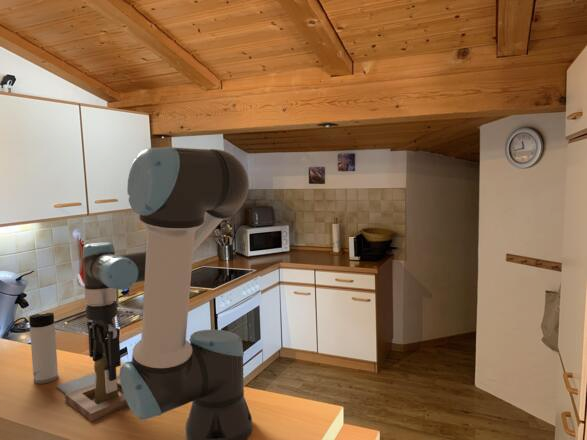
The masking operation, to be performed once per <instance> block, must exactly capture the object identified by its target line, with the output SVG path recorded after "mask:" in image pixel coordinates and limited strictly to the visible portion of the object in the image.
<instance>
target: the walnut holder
mask: <svg viewBox="0 0 587 440" xmlns="http://www.w3.org/2000/svg"><path fill="white" fill-rule="evenodd" d="M116 376H117V389H118V392H121V393H122V394H121V395H119V396H118V397H115V398H113V399H110V400H108V401H105V402H103V403H100V404H98V405H97V404H96V403H95V401H93V400H92V399H91V398H92V397H95V390H96V385H95V384H92V385H89V386H86V387H84V388H81V389H78V390H75V391H72V392H70V393H67V394H64V395H65V402H66V403H67V404H68V405H70V406H71V407H72V408H74V409H75V410H76V411H77V412H79V413H80V414H81V415H82V416H83V417H84V418H86V419H88V420H89V421H90V422H94V421H96V420H98V419H101V418H103V417H106V416H107V415H110V414H113V413H114V412H118V411H119V410H121V409H122V410H123V409H125V408H126V407H129V405H128V404H127V401H126V399H125V396H124V393H123V390H122V387H121V382H120V374H116Z"/></svg>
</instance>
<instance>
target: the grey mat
mask: <svg viewBox="0 0 587 440" xmlns="http://www.w3.org/2000/svg"><path fill="white" fill-rule="evenodd" d="M92 384H95V372H92V373H90V374H87V375H83V376H80V377H78V378H75V379H72V380H69V381H67V382H63V383H61V384H58V385H56V388H57V389H58V390H59V391H60V392H62V393H63V394H64V395H65V394H67V393H70V392H72V391H75V390H78V389H81V388H84V387H86V386H89V385H92Z"/></svg>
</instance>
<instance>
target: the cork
mask: <svg viewBox="0 0 587 440" xmlns="http://www.w3.org/2000/svg"><path fill="white" fill-rule="evenodd" d="M93 367H94V368H93V369H94V373H95V372H96V373H97V378H96V390H95V396H94V403H96V404H97V405H98V404H100V403H103V402H105V401H108V400H110V399H113V398H115V397H118V396H120V395H119V390H118V389H117V390H115V391H113V392H110V393H108V394H107V393H106V387H105V370H104V369H103V368H105V367H106V363H105V358H102V359H100V360H98V361H96V363H95V365H93Z"/></svg>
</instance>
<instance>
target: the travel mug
mask: <svg viewBox="0 0 587 440" xmlns="http://www.w3.org/2000/svg"><path fill="white" fill-rule="evenodd" d="M28 319H29V334H30V335H29V336H30V348H31V360H32V361H31V362H32V376H33V377H32V378H33V382H34V383H35V384H38V385H43V384H49V383H51V382H53V381H55V380H56V379H58V377H59V372H58V371H59V369H58V356H57V355H58V354H57V353H58V352H57V341H56V337H57V336H56V326H55V313H54V312H46V313H41V314H40V313H38V314H37V313H36V314H32V315H29V318H28Z"/></svg>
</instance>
